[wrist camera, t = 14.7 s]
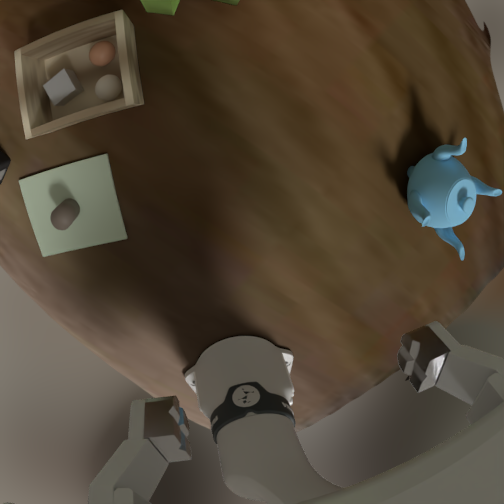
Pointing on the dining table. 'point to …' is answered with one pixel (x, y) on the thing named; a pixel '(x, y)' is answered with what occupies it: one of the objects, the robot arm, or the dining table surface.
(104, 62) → the ball terracotta
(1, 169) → the camera
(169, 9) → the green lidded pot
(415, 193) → the teapot
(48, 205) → the lid
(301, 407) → the dining table surface
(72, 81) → the grey block
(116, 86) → the ball cream
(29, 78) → the birch box
